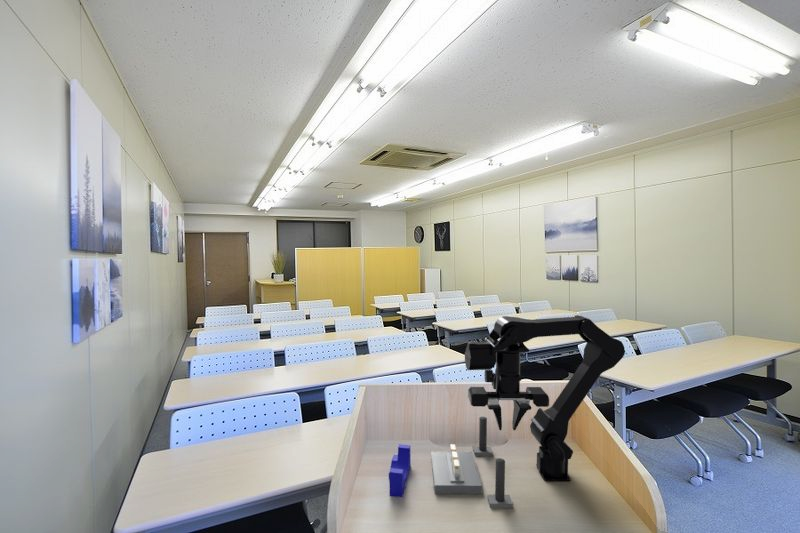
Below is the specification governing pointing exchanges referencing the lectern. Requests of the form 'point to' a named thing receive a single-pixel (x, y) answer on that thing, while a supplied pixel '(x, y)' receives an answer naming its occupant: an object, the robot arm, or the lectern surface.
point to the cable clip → (399, 470)
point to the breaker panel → (445, 474)
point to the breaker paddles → (454, 460)
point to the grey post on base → (482, 440)
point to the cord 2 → (499, 488)
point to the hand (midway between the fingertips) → (506, 429)
